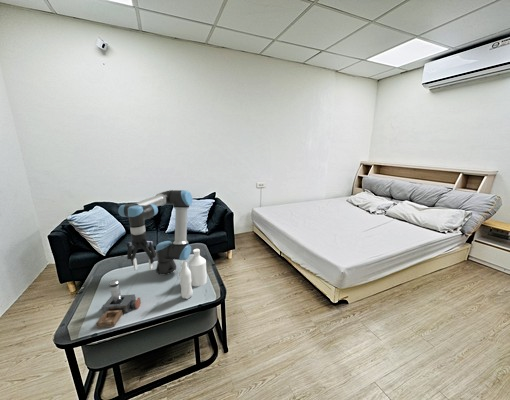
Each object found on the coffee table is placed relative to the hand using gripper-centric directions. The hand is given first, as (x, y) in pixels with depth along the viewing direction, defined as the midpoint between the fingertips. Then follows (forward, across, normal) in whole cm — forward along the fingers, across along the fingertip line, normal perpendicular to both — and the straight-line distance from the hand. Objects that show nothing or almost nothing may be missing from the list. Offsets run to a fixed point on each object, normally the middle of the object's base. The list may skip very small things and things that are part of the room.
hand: (143, 268), depth 128 cm
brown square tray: (+25, +17, +10) cm, 32 cm away
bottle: (+25, -27, -22) cm, 43 cm away
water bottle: (+25, -22, -6) cm, 34 cm away
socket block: (+25, +18, 0) cm, 31 cm away
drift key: (+25, +10, 0) cm, 27 cm away
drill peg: (+25, +18, 0) cm, 31 cm away
